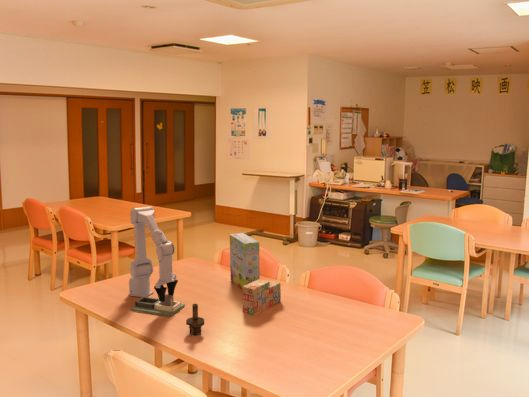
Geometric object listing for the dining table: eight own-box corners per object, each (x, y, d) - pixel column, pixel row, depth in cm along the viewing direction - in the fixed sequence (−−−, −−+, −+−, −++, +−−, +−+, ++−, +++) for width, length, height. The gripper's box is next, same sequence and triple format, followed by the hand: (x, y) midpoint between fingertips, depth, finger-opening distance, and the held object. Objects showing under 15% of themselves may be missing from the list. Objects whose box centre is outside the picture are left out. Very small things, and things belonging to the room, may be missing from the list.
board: (131, 310, 225) (130, 304, 225) (147, 300, 238) (147, 294, 237) (170, 316, 219) (169, 310, 218) (184, 306, 231) (184, 299, 230)
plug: (161, 308, 225) (161, 296, 224) (165, 305, 228) (165, 294, 228) (169, 309, 224) (169, 297, 223) (173, 306, 227) (173, 295, 226)
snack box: (228, 281, 266) (228, 233, 262) (244, 278, 270) (243, 232, 266) (244, 294, 247) (244, 243, 243) (260, 291, 251) (260, 241, 247)
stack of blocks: (270, 298, 241) (270, 273, 239) (280, 301, 238) (281, 276, 236) (242, 312, 224) (242, 285, 222) (253, 315, 221) (253, 288, 219)
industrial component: (192, 338, 197) (192, 309, 195) (182, 332, 203) (181, 304, 201) (211, 331, 204) (211, 303, 202) (201, 326, 209) (200, 298, 207)
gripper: (165, 275, 215) (165, 305, 218) (181, 265, 229) (182, 294, 231) (150, 273, 218) (151, 303, 220) (168, 264, 231) (168, 292, 234)
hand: (166, 298), depth 226 cm, fingers open, 7 cm apart
